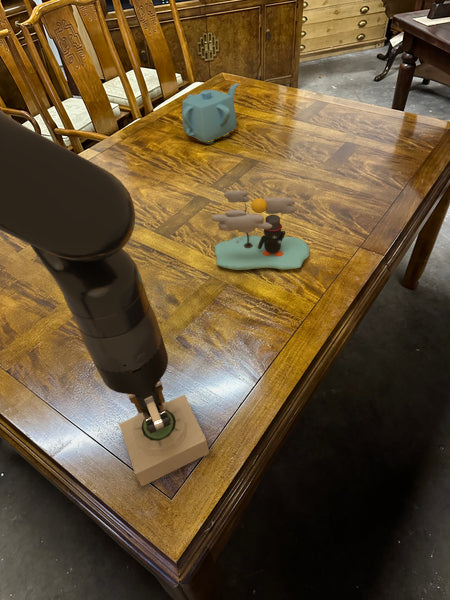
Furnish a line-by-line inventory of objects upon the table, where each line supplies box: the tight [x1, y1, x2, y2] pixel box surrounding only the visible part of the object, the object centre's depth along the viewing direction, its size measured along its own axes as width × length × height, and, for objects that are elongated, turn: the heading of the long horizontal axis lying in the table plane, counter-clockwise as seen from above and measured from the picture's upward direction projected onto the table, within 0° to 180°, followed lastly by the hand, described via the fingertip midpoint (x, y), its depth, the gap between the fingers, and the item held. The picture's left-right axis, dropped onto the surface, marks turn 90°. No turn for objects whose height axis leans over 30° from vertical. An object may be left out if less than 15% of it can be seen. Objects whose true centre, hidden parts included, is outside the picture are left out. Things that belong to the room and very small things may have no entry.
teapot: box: [181, 83, 240, 145], centre depth 129 cm, size 18×16×14 cm
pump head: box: [143, 411, 175, 441], centre depth 56 cm, size 4×4×2 cm
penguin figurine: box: [210, 190, 311, 271], centre depth 83 cm, size 20×11×15 cm, turn 81°
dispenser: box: [118, 394, 210, 487], centre depth 58 cm, size 10×8×6 cm
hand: (158, 422), depth 56 cm, fingers closed
